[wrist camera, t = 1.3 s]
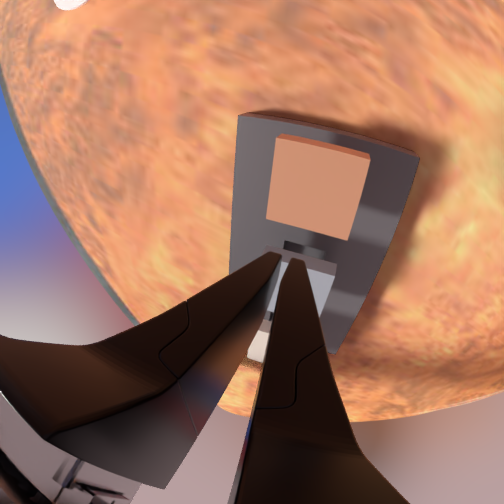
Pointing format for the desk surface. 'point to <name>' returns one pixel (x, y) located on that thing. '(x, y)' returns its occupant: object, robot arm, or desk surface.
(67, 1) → the white stand
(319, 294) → the key slate
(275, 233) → the keypad board
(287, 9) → the desk surface
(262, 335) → the key cream
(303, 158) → the key terracotta
